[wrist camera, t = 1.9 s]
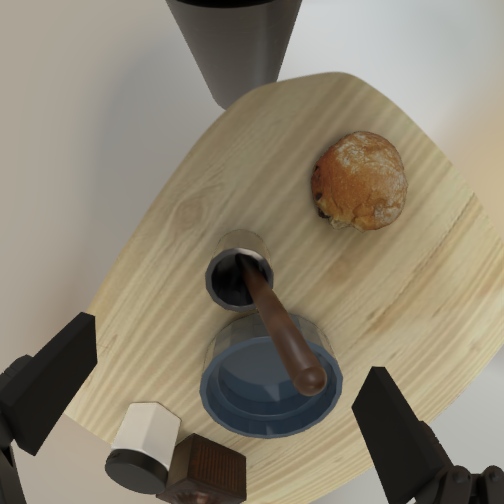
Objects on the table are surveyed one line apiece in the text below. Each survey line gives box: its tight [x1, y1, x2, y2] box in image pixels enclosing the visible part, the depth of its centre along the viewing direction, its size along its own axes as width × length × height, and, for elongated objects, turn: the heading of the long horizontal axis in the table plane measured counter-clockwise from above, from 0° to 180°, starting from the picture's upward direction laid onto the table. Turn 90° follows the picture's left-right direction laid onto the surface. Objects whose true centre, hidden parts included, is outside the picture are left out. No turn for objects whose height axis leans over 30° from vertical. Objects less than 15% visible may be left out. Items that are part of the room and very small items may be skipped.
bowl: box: [199, 313, 343, 439], centre depth 32 cm, size 15×15×6 cm
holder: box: [205, 230, 273, 312], centre depth 27 cm, size 5×6×8 cm
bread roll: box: [311, 132, 408, 232], centre depth 27 cm, size 10×10×8 cm
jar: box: [105, 402, 181, 494], centre depth 32 cm, size 9×8×12 cm
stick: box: [235, 253, 327, 396], centre depth 21 cm, size 2×2×20 cm
